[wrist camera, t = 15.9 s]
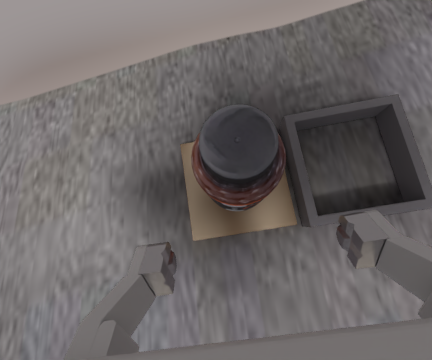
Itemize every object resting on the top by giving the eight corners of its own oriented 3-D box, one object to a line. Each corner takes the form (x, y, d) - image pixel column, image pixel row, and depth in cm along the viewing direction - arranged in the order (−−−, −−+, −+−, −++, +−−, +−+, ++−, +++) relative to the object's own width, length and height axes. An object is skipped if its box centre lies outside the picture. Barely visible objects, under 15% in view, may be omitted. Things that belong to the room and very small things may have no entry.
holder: (380, 107, 23) (398, 94, 20) (415, 208, 21) (439, 206, 18) (279, 126, 23) (284, 115, 21) (302, 226, 21) (310, 226, 19)
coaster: (273, 130, 23) (274, 126, 22) (294, 224, 21) (297, 224, 20) (182, 147, 24) (180, 144, 23) (195, 240, 22) (193, 240, 21)
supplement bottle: (249, 223, 21) (262, 226, 10) (196, 193, 22) (154, 164, 11) (278, 170, 22) (321, 116, 10) (226, 143, 23) (214, 68, 11)
